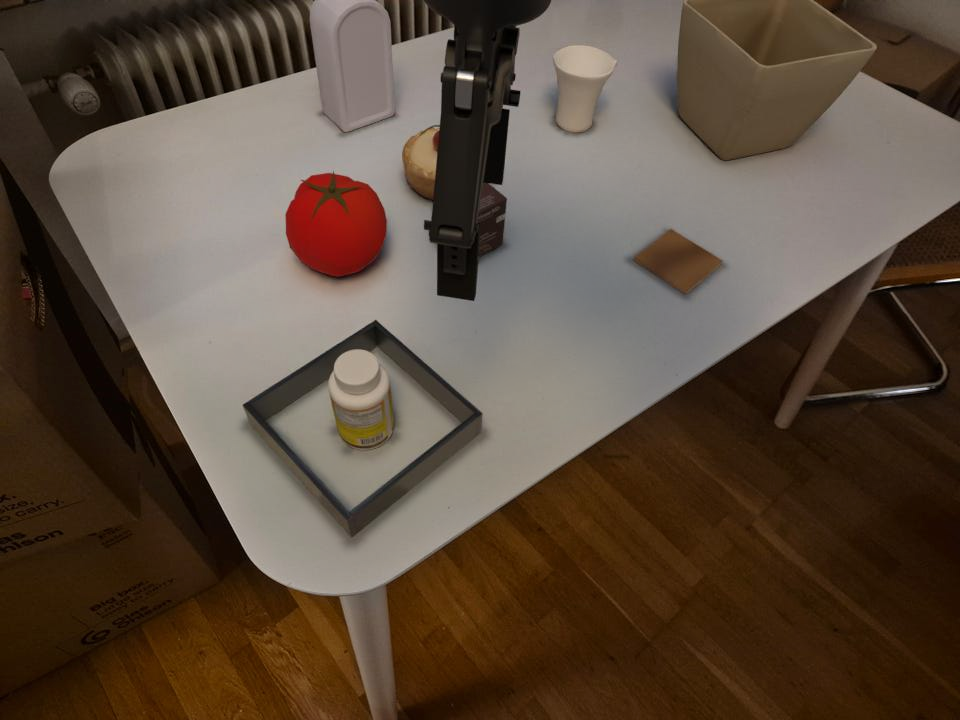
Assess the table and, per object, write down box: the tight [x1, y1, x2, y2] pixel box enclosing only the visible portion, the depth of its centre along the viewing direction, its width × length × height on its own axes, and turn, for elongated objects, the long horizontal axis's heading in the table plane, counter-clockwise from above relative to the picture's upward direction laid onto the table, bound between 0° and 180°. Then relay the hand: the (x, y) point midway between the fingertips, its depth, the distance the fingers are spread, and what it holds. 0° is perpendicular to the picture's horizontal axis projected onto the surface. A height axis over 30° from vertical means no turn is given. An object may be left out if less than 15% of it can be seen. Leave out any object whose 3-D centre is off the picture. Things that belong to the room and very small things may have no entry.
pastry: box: [401, 124, 440, 201], centre depth 88 cm, size 12×12×9 cm
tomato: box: [285, 170, 388, 277], centre depth 77 cm, size 12×12×11 cm
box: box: [477, 183, 508, 258], centre depth 81 cm, size 6×6×7 cm
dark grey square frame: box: [242, 319, 484, 538], centre depth 65 cm, size 16×16×4 cm
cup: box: [552, 44, 619, 134], centre depth 98 cm, size 9×9×10 cm
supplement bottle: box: [327, 349, 395, 451], centre depth 62 cm, size 6×6×10 cm
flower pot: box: [676, 0, 878, 161], centre depth 96 cm, size 19×19×17 cm
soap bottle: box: [309, 0, 396, 133], centre depth 91 cm, size 9×7×23 cm
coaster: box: [632, 228, 724, 295], centre depth 84 cm, size 8×8×1 cm
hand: (472, 233), depth 52 cm, fingers open, 13 cm apart
